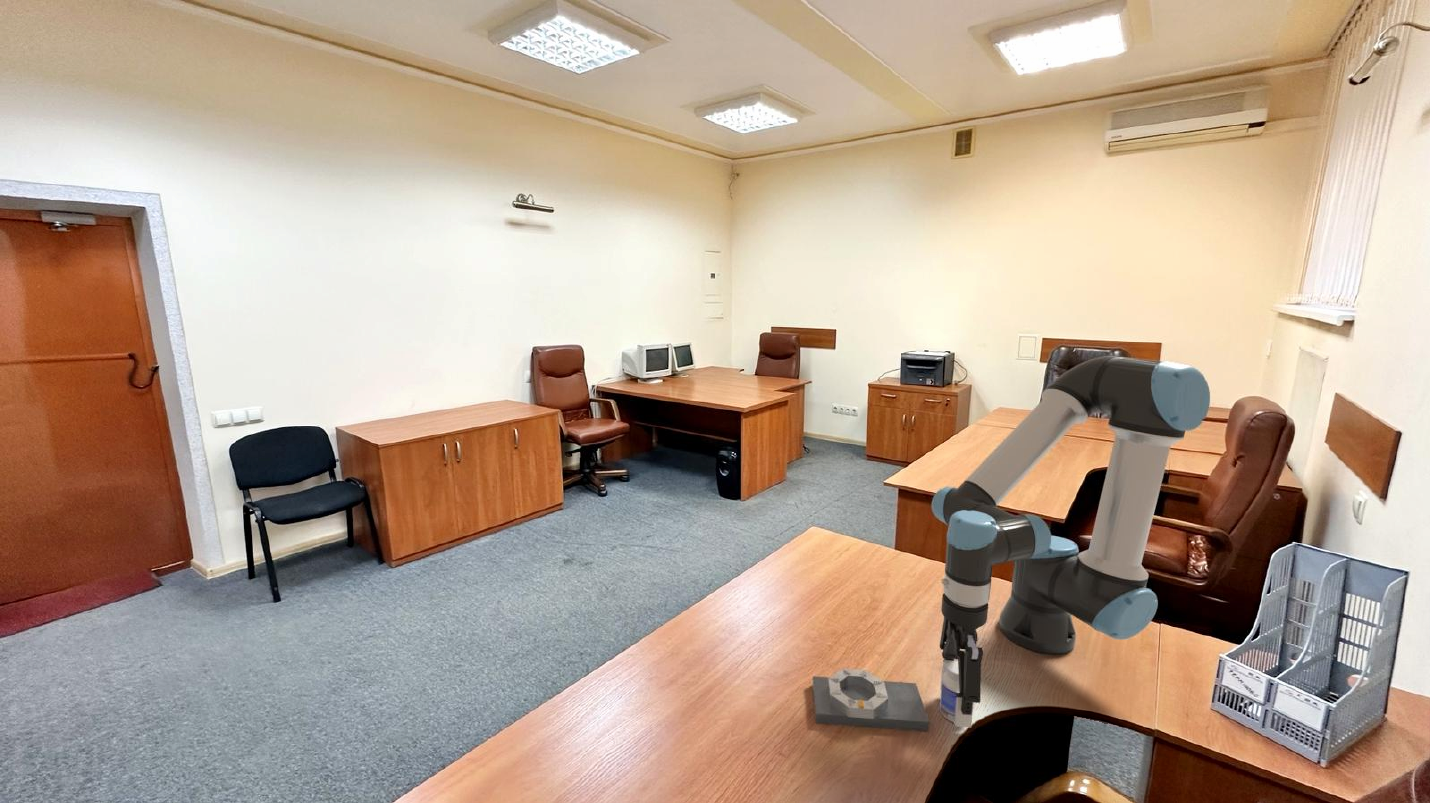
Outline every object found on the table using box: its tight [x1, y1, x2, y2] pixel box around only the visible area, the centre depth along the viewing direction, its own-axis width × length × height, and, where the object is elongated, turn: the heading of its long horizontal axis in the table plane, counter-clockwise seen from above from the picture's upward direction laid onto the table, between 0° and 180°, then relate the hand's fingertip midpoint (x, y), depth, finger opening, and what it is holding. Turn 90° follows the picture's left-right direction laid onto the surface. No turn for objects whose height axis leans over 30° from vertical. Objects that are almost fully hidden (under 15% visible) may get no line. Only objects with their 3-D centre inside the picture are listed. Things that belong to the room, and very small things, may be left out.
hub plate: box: [812, 668, 930, 733], centre depth 106 cm, size 20×10×4 cm, turn 84°
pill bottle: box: [939, 660, 959, 723], centre depth 103 cm, size 5×5×10 cm
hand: (955, 707), depth 104 cm, fingers open, 8 cm apart
